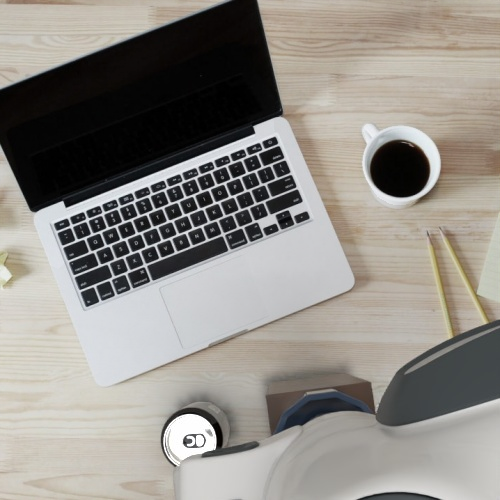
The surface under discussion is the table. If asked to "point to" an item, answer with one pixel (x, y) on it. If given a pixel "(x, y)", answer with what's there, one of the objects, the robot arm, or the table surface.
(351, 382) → the plinth
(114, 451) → the table surface
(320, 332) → the table surface
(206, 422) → the beverage can
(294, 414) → the bowl
